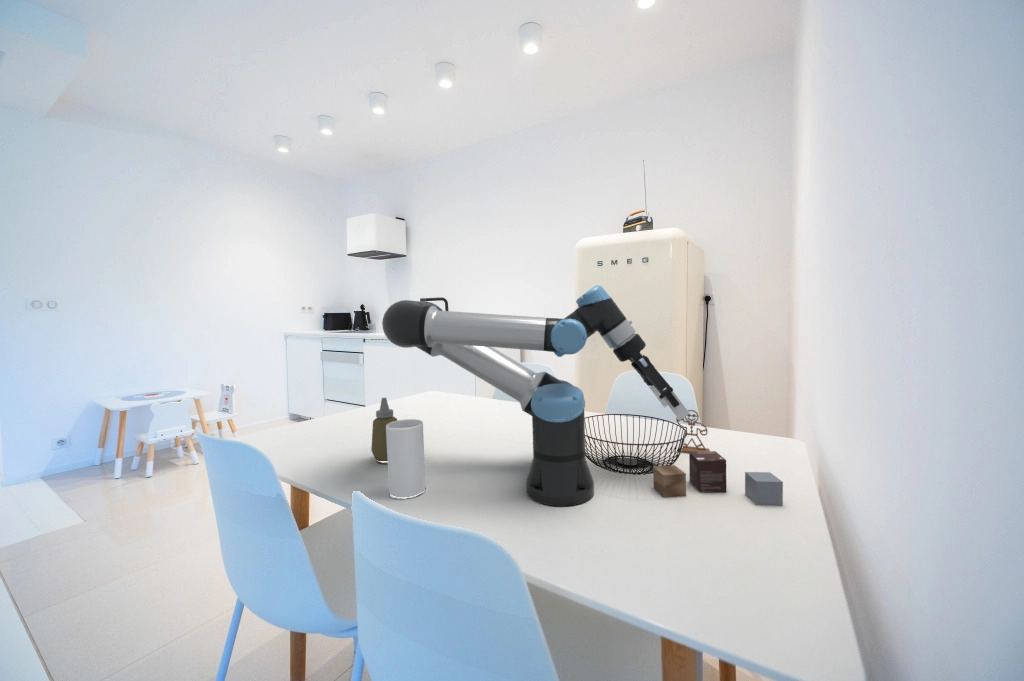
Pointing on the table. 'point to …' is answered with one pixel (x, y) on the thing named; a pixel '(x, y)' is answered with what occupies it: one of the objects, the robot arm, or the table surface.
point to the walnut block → (669, 481)
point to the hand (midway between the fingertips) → (676, 410)
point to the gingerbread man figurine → (689, 448)
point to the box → (707, 471)
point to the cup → (405, 457)
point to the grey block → (764, 488)
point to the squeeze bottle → (381, 431)
